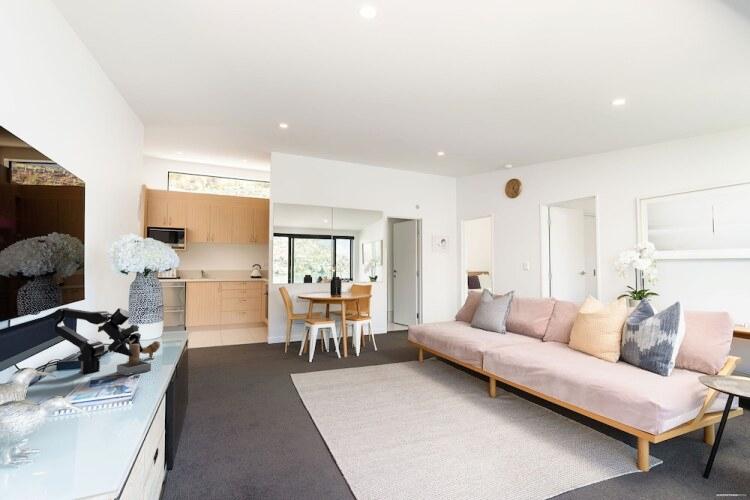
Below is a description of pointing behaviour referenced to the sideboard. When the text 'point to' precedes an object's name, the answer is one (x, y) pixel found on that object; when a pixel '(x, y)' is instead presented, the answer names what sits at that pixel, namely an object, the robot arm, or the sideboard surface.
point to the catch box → (136, 369)
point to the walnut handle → (134, 355)
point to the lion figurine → (151, 348)
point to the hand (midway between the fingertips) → (137, 353)
